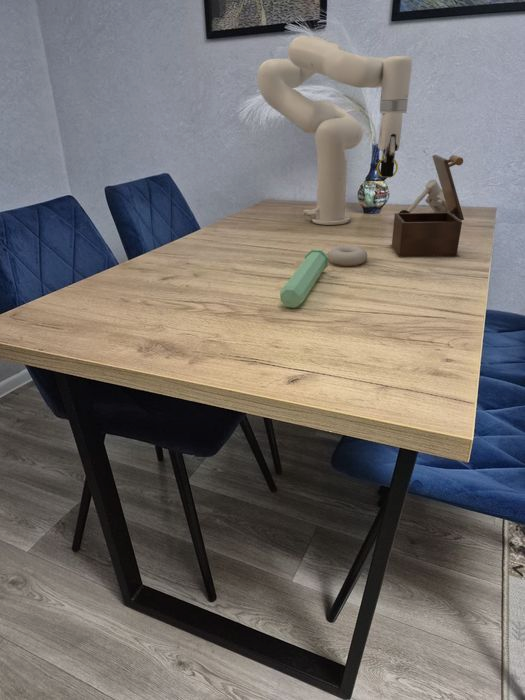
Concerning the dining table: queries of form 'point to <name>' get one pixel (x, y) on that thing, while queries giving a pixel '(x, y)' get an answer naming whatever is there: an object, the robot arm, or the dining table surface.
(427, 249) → the chest
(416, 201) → the valve
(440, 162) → the lid
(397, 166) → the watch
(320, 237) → the dining table surface
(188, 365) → the dining table surface
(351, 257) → the donut
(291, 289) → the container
